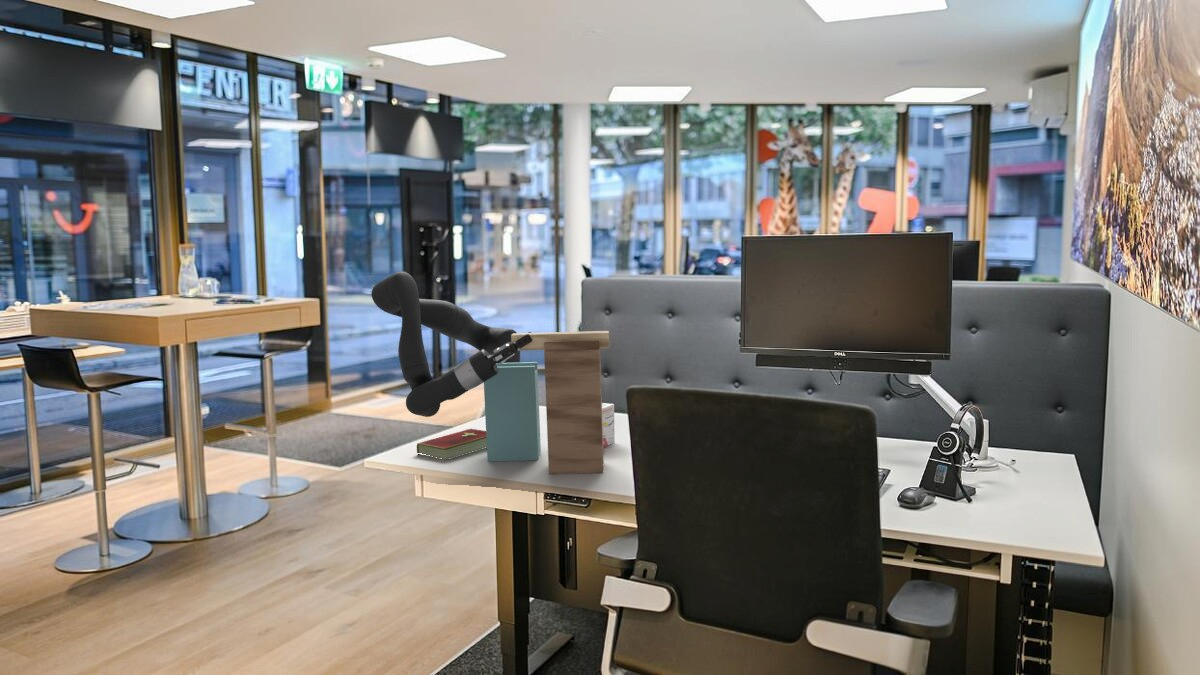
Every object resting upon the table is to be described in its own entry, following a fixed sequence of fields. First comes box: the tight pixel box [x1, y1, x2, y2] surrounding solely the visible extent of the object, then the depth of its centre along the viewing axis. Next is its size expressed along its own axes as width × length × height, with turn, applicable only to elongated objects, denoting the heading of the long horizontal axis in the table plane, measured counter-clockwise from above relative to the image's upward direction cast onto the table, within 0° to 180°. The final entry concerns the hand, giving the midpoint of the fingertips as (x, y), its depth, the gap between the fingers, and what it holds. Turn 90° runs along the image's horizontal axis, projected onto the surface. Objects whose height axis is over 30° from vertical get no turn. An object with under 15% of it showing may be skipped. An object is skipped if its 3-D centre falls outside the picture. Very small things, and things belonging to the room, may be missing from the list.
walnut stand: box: [543, 341, 605, 475], centre depth 225 cm, size 10×14×34 cm
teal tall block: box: [483, 361, 542, 462], centre depth 239 cm, size 8×14×26 cm, turn 89°
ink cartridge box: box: [602, 402, 616, 449], centre depth 250 cm, size 9×5×15 cm, turn 149°
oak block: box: [511, 330, 610, 352], centre depth 223 cm, size 4×25×4 cm, turn 88°
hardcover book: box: [416, 428, 487, 460], centre depth 250 cm, size 12×21×4 cm, turn 142°
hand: (531, 336), depth 223 cm, fingers closed on oak block, 4 cm apart
